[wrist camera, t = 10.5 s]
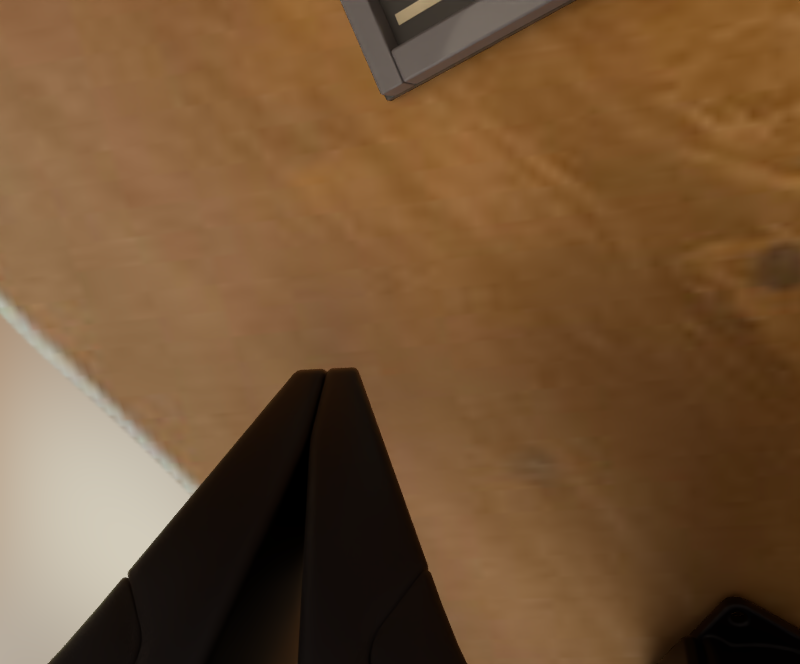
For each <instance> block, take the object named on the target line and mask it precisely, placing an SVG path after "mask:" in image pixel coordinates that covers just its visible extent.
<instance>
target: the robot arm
mask: <svg viewBox="0 0 800 664" xmlns="http://www.w3.org/2000/svg"><path fill="white" fill-rule="evenodd" d="M128 577H129V578H123V579H122V580H121V581H120V582H119V583H118V584H117V585H116V587H115V588H114V589H113V590H112V592H111V593H110V594H109V595H108V596H107V597H106V599H105V600H104V601H103V602H102V603H101V605H100V606H99V607H98V608H97V609H96V610H95V612H94V613H93V614H92V615H91V616H90V617H89V618H88V619H87V621H86V622H85V623H84V624H83V625H82V626H81V627H80V629H79V630H78V631H77V632H76V633H75V634H74V636H73V637H72V638H71V639H70V640H69V641H68V642H67V643H66V645H65V646H64V647H63V648H62V649H61V650H60V651H59V653H57V655H56V656H55V657H54V658H53V659H52V660H51V661H50V662H49V663H48V664H467V663H466V661H465V658H464V656H463V654H462V652H461V650H460V648H459V646H458V643H457V641H456V638H455V636H454V633H453V631H452V628H451V626H450V623H449V621H448V618H447V616H446V613H445V611H444V608H443V606H442V603H441V600H440V598H439V595H438V592H437V589H436V586H435V583H434V581H433V578H432V575H431V573H430V572H429V571H428V565H427V562H426V559H425V556H424V554H423V551H422V548H421V545H420V542H419V540H418V537H417V534H416V531H415V528H414V526H413V523H412V520H411V517H410V514H409V512H408V509H407V506H406V503H405V500H404V497H403V495H402V492H401V489H400V486H399V483H398V481H397V478H396V475H395V472H394V469H393V467H392V464H391V461H390V458H389V455H388V453H387V450H386V447H385V444H384V441H383V439H382V436H381V433H380V430H379V427H378V425H377V422H376V419H375V416H374V413H373V411H372V408H371V405H370V402H369V399H368V396H367V394H366V391H365V388H364V385H363V382H362V380H361V377H360V374H359V372H358V370H357V369H356V368H332V369H330V370H329V371H328V372H327V371H325V370H323V369H311V370H299V371H297V372H295V373H294V374H293V375H292V376H291V378H290V379H289V380H288V381H287V382H286V384H285V385H284V386H283V387H282V388H281V390H280V391H279V392H278V393H277V394H276V396H275V397H274V398H273V399H272V400H271V402H270V403H269V404H268V405H267V406H266V408H265V409H264V410H263V411H262V412H261V414H260V415H259V416H258V417H257V418H256V419H255V421H254V422H253V423H252V424H251V425H250V427H249V428H248V429H247V430H246V431H245V433H244V434H243V435H242V436H241V437H240V439H239V440H238V441H237V442H236V443H235V445H234V446H233V447H232V448H231V449H230V451H229V452H228V453H227V454H226V455H225V457H224V458H223V459H222V460H221V461H220V463H219V464H218V465H217V466H216V467H215V469H214V470H213V471H212V472H211V473H210V475H209V476H208V477H207V478H206V479H205V481H204V482H203V483H202V484H201V485H200V486H199V488H198V489H197V490H196V491H195V492H194V494H193V495H192V496H191V497H190V498H189V500H188V501H187V502H186V503H185V504H184V506H183V507H182V508H181V509H180V510H179V512H178V513H177V514H176V515H175V516H174V518H173V519H172V520H171V521H170V522H169V524H168V525H167V526H166V527H165V528H164V530H163V531H162V532H161V533H160V534H159V536H158V537H157V538H156V539H155V540H154V542H153V543H152V544H151V545H150V546H149V548H148V549H147V550H146V551H145V552H144V554H143V555H142V556H141V557H140V558H139V560H138V561H137V562H136V563H135V564H134V565H133V567H132V568H131V569H130V570H129V572H128ZM734 612H742V613H744V614H742V615H738V616H735V615H732V613H734ZM658 664H800V629H798V628H796V627H794V626H792V625H791V624H789V623H787V622H785V621H784V620H782V619H780V618H778V617H776V616H775V615H773V614H771V613H769V612H768V611H766V610H764V609H762V608H761V607H759V606H757V605H755V604H753V603H752V602H750V601H748V600H746V599H744V598H741V597H729V598H726V599H725V600H723V601H722V602H721V603H720V604H719V605H718V606H717V607H716V608H715V609H714V610H713V611H712V612H711V613H710V614H709V615H708V616H707V617H706V618H705V619H704V620H703V621H702V622H701V624H700V625H699V626H698V627H697V628H696V629H695V630H694V631H693V632H692V633H691V634H690V635H688V636H686V637H683V638H682V639H681V640H680V641H679V642H678V643H677V644H676V645H675V646H674V647H673V648H672V649H671V650H670V651H669V652H668V653H667V654H666V655H665V656H664V657H663V658H662V659H661V660H660V661H659V662H658Z"/></svg>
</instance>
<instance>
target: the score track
mask: <svg viewBox="0 0 800 664" xmlns="http://www.w3.org/2000/svg"><path fill="white" fill-rule="evenodd" d="M340 1H341V3H342V6H343V8H344V10H345V12H346V15H347V17H348V19H349V22H350V24H351V26H352V29H353V31H354V33H355V35H356V38H357V40H358V42H359V45H360V47H361V49H362V52H363V54H364V56H365V59H366V61H367V63H368V65H369V68H370V70H371V72H372V75H373V77H374V79H375V82H376V84H377V86H378V88H379V91H380V93H381V94H382V95H385V97H386V100H389V101H392V100H394V99H395V98H397V97H399V96H401V95H403V94H405V93H406V92H408V91H410V90H412V89H414V88H416V87H418V86H419V85H421V84H423V83H425V82H427V81H429V80H430V79H432V78H434V77H436V76H438V75H440V74H441V73H443V72H445V71H447V70H449V69H451V68H452V67H454V66H456V65H458V64H460V63H462V62H463V61H465V60H467V59H469V58H471V57H473V56H474V55H476V54H478V53H480V52H482V51H484V50H486V49H487V48H489V47H491V46H493V45H495V44H497V43H498V42H500V41H502V40H504V39H506V38H508V37H509V36H511V35H513V34H515V33H517V32H519V31H520V30H522V29H524V28H526V27H528V26H530V25H531V24H533V23H535V22H537V21H539V20H541V19H542V18H544V17H546V16H548V15H550V14H552V13H553V12H555V11H557V10H559V9H561V8H563V7H565V6H566V5H568V4H570V3H572V2H574V1H576V0H340Z"/></svg>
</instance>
